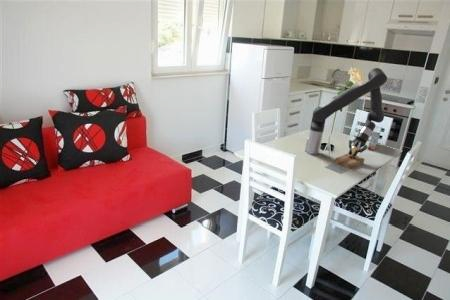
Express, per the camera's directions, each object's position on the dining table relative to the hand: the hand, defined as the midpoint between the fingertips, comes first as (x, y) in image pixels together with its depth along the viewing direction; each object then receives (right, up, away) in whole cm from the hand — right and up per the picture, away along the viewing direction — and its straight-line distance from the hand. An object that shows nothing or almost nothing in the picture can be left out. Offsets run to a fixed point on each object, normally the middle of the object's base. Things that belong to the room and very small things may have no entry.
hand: (351, 154), depth 216 cm
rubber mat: (-14, -9, -9) cm, 19 cm away
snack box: (+32, +6, +38) cm, 50 cm away
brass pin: (+1, -4, +3) cm, 5 cm away
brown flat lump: (-1, -6, +2) cm, 6 cm away
